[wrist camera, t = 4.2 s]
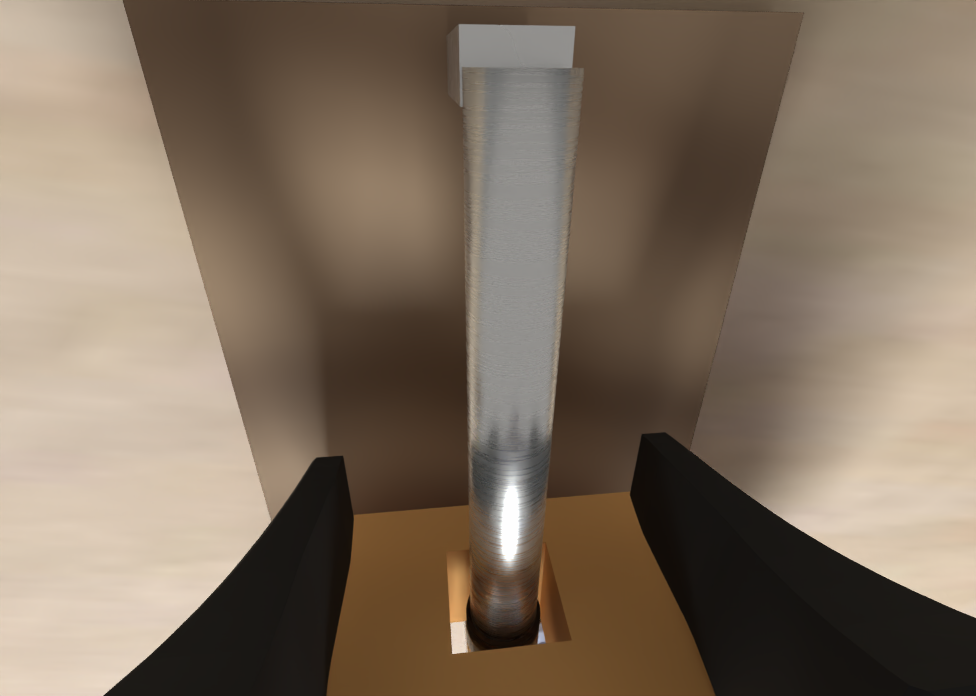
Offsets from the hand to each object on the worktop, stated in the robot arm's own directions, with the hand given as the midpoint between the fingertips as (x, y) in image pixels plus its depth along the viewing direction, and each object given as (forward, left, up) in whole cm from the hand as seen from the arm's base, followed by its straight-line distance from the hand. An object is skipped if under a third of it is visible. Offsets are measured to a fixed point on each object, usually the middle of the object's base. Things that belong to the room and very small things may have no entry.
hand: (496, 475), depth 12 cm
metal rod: (+1, 0, -3) cm, 3 cm away
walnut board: (+1, 0, -3) cm, 3 cm away
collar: (-4, 0, -1) cm, 4 cm away
